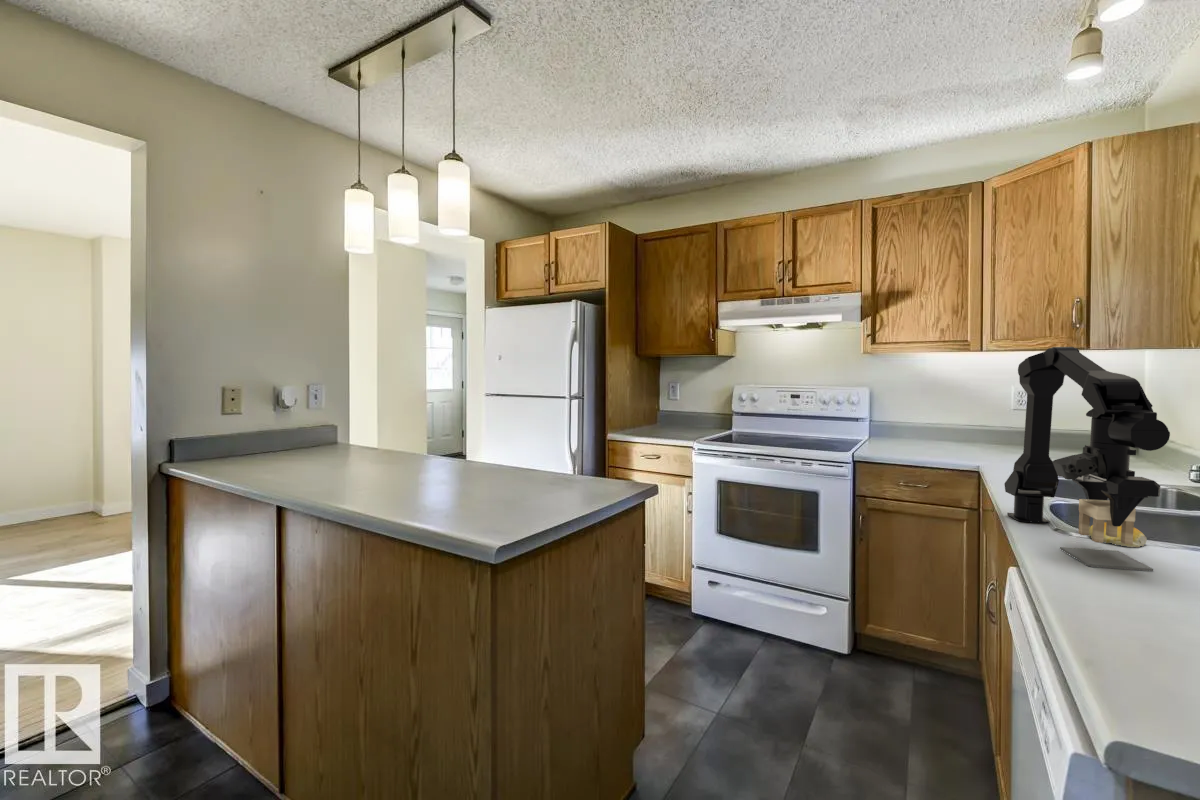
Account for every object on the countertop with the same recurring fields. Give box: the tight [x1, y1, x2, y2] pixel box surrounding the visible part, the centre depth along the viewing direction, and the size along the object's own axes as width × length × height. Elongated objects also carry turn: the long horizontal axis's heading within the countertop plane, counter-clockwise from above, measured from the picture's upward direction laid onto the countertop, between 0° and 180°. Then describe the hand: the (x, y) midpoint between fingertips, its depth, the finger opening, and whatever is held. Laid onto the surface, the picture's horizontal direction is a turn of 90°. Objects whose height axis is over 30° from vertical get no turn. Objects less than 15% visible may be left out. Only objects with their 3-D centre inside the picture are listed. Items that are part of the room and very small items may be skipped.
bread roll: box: [1088, 521, 1147, 548], centre depth 118 cm, size 8×9×4 cm
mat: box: [1059, 546, 1154, 572], centre depth 107 cm, size 10×10×1 cm
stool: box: [1077, 498, 1137, 545], centre depth 107 cm, size 6×6×7 cm
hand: (1105, 521), depth 107 cm, fingers closed on stool, 6 cm apart
